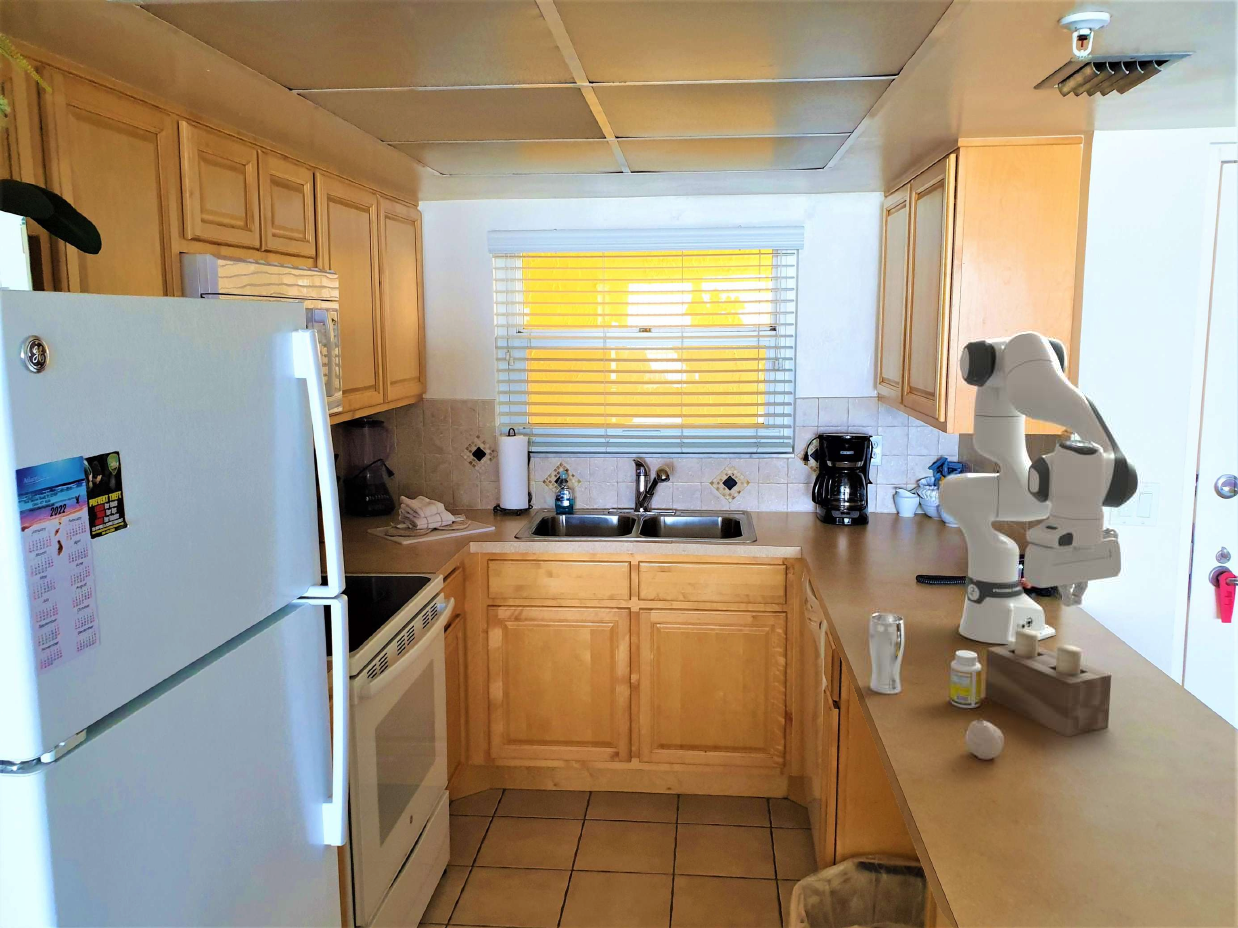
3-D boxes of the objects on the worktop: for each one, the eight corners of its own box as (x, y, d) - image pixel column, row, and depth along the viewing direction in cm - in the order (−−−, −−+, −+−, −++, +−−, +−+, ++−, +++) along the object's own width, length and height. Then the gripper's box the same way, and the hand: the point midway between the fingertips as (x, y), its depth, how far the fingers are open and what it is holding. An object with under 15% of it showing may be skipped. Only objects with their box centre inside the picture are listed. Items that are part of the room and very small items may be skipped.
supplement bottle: (971, 697, 183) (973, 647, 181) (985, 708, 177) (987, 657, 176) (944, 698, 182) (946, 649, 181) (957, 710, 177) (959, 659, 175)
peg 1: (1024, 672, 182) (1026, 628, 181) (1040, 679, 178) (1042, 634, 177) (1009, 675, 181) (1011, 631, 179) (1024, 682, 177) (1027, 637, 176)
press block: (1023, 688, 187) (1025, 641, 185) (1108, 726, 168) (1111, 674, 167) (984, 696, 183) (986, 648, 182) (1067, 736, 164) (1070, 683, 163)
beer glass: (861, 689, 188) (863, 618, 186) (877, 679, 193) (879, 610, 191) (893, 697, 183) (895, 625, 181) (909, 687, 188) (911, 617, 186)
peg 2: (1065, 690, 173) (1068, 644, 172) (1083, 697, 169) (1086, 650, 168) (1049, 693, 171) (1052, 647, 170) (1067, 701, 168) (1070, 653, 166)
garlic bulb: (955, 751, 159) (957, 708, 158) (983, 744, 162) (985, 701, 161) (984, 767, 153) (986, 722, 152) (1013, 760, 156) (1015, 715, 155)
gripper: (1102, 522, 173) (1098, 594, 174) (1019, 532, 165) (1016, 607, 167) (1132, 529, 167) (1128, 602, 169) (1047, 539, 159) (1043, 616, 161)
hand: (1071, 605), depth 168 cm, fingers closed
